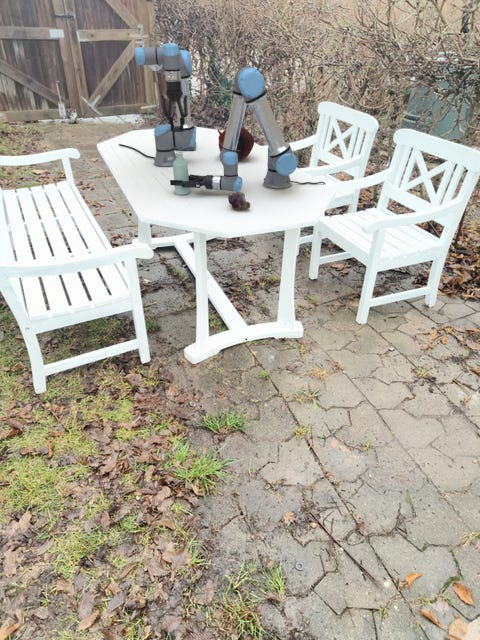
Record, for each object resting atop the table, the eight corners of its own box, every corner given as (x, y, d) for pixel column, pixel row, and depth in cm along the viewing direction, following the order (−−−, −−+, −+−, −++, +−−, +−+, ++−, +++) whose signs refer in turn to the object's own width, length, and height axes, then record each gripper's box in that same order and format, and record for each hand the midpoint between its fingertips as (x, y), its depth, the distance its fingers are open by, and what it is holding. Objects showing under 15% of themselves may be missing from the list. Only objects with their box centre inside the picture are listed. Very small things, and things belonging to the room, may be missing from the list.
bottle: (174, 194, 244) (170, 154, 232) (176, 190, 251) (172, 151, 239) (188, 194, 244) (185, 154, 232) (190, 190, 251) (187, 150, 239)
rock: (241, 205, 233) (224, 208, 228) (240, 189, 229) (223, 191, 225) (252, 209, 223) (235, 212, 219) (252, 191, 219) (234, 194, 215)
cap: (175, 132, 230) (175, 128, 229) (171, 130, 233) (171, 126, 232) (183, 131, 232) (183, 127, 231) (179, 129, 235) (179, 125, 234)
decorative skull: (215, 132, 306) (215, 129, 282) (249, 124, 305) (251, 121, 281) (222, 164, 313) (222, 164, 289) (255, 157, 312) (258, 156, 288)
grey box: (196, 150, 320) (194, 121, 309) (171, 151, 319) (168, 122, 308) (196, 145, 335) (194, 116, 324) (172, 145, 334) (169, 117, 322)
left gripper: (153, 81, 218) (159, 132, 231) (188, 82, 215) (192, 133, 229) (158, 79, 224) (163, 129, 237) (192, 79, 221) (195, 130, 235)
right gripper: (208, 195, 234) (167, 193, 238) (218, 183, 251) (179, 181, 255) (207, 181, 230) (165, 178, 234) (218, 169, 247) (178, 167, 251)
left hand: (177, 131), depth 233 cm, fingers closed on cap, 4 cm apart
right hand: (173, 180), depth 244 cm, fingers closed on bottle, 8 cm apart
